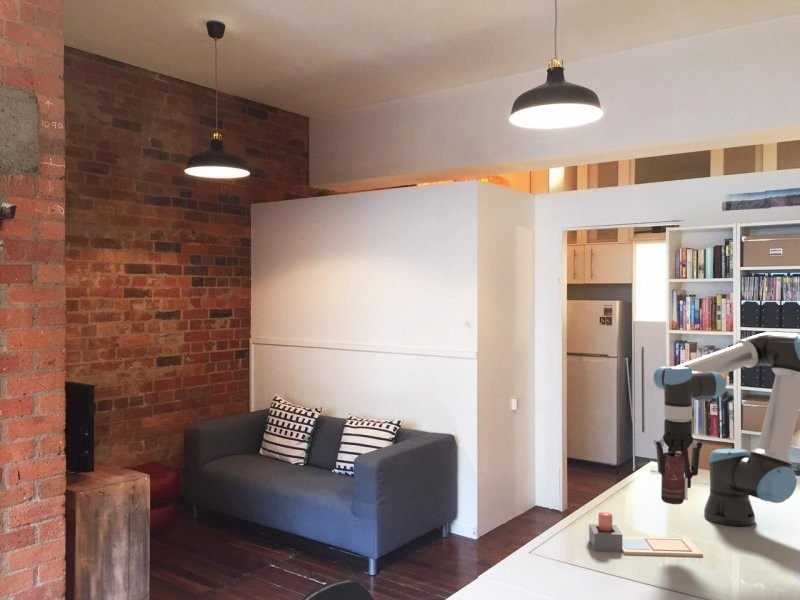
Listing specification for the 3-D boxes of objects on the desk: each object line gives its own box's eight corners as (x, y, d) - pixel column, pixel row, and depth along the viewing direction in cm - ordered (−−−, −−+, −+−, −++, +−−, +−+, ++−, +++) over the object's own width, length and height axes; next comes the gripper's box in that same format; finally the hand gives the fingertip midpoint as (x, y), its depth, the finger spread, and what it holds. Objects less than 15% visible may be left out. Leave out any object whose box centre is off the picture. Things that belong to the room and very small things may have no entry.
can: (686, 505, 193) (687, 457, 193) (663, 503, 195) (663, 456, 194) (682, 499, 199) (683, 452, 199) (659, 497, 201) (660, 451, 200)
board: (688, 540, 202) (688, 537, 202) (703, 556, 191) (703, 553, 190) (614, 538, 204) (614, 535, 204) (624, 554, 192) (624, 551, 192)
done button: (610, 527, 201) (610, 512, 200) (613, 531, 197) (613, 516, 197) (597, 526, 201) (597, 511, 201) (599, 531, 197) (599, 516, 197)
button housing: (616, 541, 202) (616, 524, 202) (622, 551, 194) (622, 534, 194) (589, 540, 203) (589, 524, 203) (594, 550, 195) (594, 533, 195)
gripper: (702, 417, 199) (701, 495, 200) (645, 416, 201) (645, 494, 201) (711, 422, 192) (711, 503, 192) (653, 421, 193) (652, 501, 194)
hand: (677, 498), depth 197 cm, fingers open, 3 cm apart
